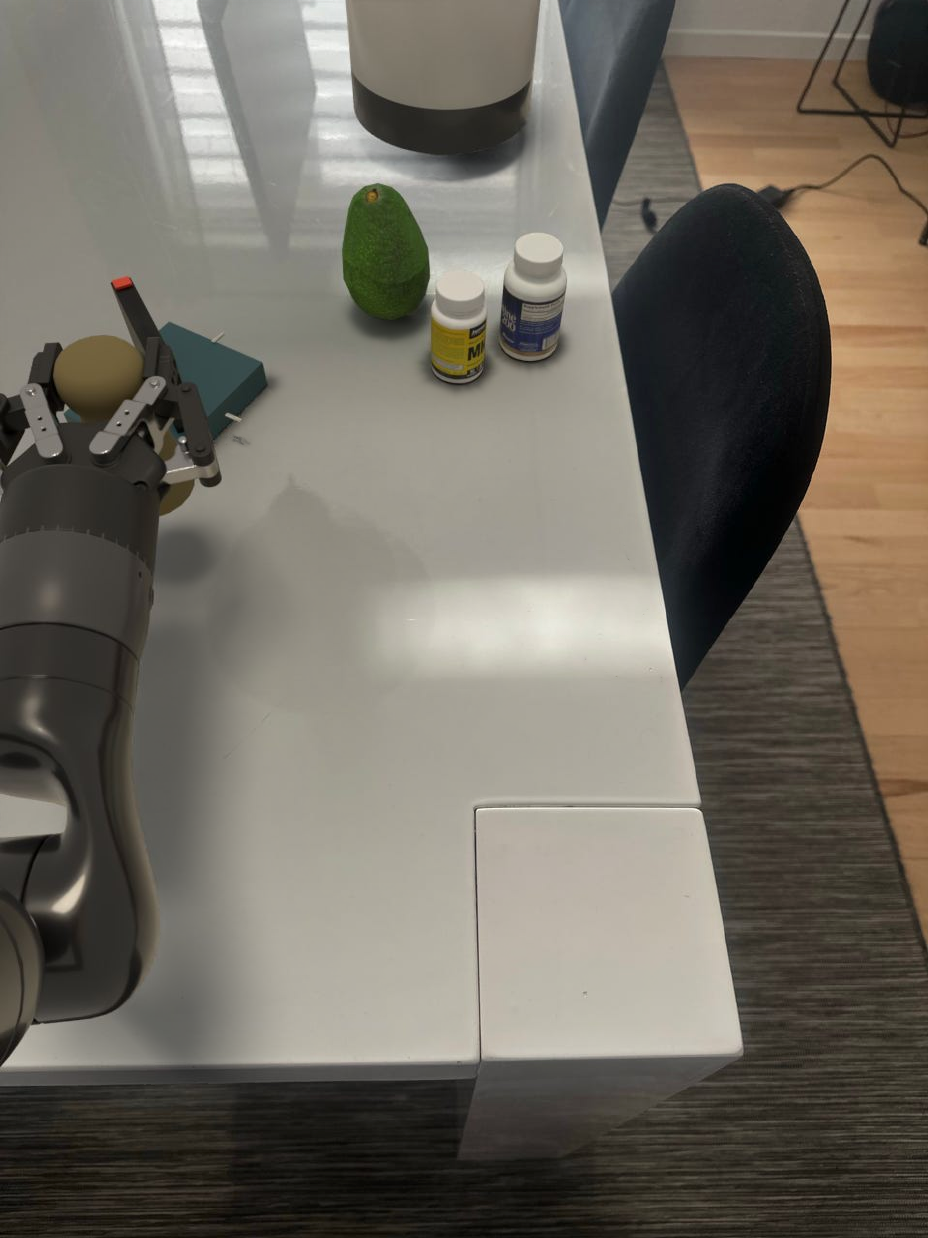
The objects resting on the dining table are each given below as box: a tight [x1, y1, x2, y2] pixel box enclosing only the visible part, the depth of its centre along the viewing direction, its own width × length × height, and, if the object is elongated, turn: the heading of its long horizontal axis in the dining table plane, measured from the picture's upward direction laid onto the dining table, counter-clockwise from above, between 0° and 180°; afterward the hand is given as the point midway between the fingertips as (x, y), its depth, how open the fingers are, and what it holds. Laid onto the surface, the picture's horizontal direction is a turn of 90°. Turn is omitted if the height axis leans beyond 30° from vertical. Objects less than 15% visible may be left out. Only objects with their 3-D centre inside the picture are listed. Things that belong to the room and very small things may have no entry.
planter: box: [344, 0, 541, 156], centre depth 86 cm, size 19×19×18 cm
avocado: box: [341, 182, 431, 321], centre depth 73 cm, size 8×8×12 cm
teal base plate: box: [63, 321, 268, 444], centre depth 69 cm, size 15×15×3 cm
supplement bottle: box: [430, 269, 488, 384], centre depth 71 cm, size 5×5×8 cm
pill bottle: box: [498, 232, 568, 362], centre depth 72 cm, size 5×5×10 cm
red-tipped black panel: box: [110, 275, 184, 433], centre depth 65 cm, size 11×2×7 cm, turn 29°
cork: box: [53, 334, 196, 518], centre depth 51 cm, size 6×6×11 cm
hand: (108, 352), depth 50 cm, fingers closed on cork, 5 cm apart
